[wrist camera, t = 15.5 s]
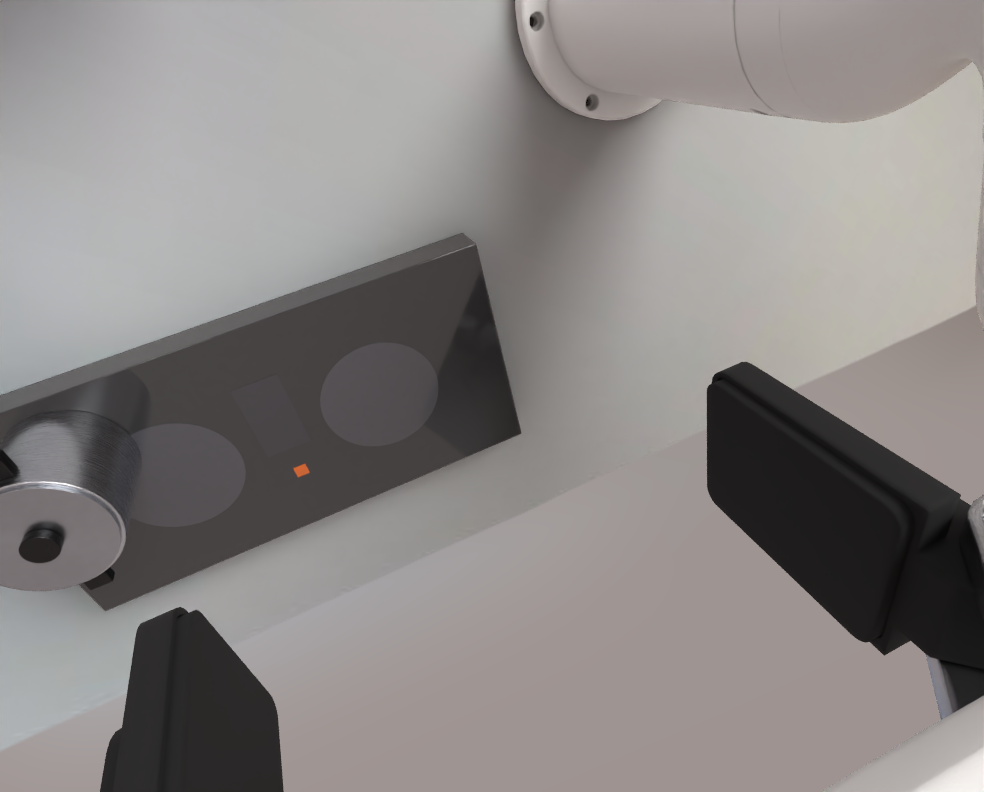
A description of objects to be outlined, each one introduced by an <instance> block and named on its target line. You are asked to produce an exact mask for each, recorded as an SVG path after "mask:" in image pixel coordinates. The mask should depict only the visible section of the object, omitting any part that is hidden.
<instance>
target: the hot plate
mask: <svg viewBox="0 0 984 792" xmlns="http://www.w3.org/2000/svg"><path fill="white" fill-rule="evenodd" d="M52 411H81V412H87V413H92V414H95V415H98V416H101V417H104V418H106V419H109V420H110V421H112V422H114V423H116V424H117V425H119V426H120V427H122V428H123V429H124V430H125V431H126V432H128V433H129V434H130V436H131V437H132V438H133V439H134V441H135V442H136V444H137V446H138V448H139V450H140V454H141V461H142V464H141V471H140V476H139V481H138V486H137V490H136V495H135V500H134V505H133V509H132V514H131V519H130V524H129V529H128V533H127V538H126V543H125V546H124V549H123V551H122V553H121V555H120V556H119V558H118V559H117V560H116V562H115V563H114V564H113V565H111V566H110V567H111V568H112V569H113V570H114V572H115V576H114V580H113V581H112V582H110V583H108V584H106V585H103V586H101V587H98V588H96V589H94V590H89V589H88V588H87V587H86V586H85V585H84V583H81V584H79V585H80V586H81V587H82V588H83V589H84V590H85V591H86V592H87V593H88V594H89V595H90V596H91V597H92V598H93V599H94V600H95V601H96V602H97V603H98V604H99V605H100V606H101V607H102V608H103V609H104V610H105V611H107V610H109V609H111V608H114V607H116V606H119V605H121V604H123V603H126V602H128V601H130V600H133V599H135V598H137V597H140V596H142V595H144V594H147V593H149V592H151V591H154V590H156V589H158V588H161V587H163V586H165V585H168V584H170V583H172V582H175V581H177V580H179V579H182V578H184V577H186V576H189V575H191V574H193V573H196V572H198V571H201V570H203V569H205V568H208V567H210V566H212V565H215V564H217V563H219V562H222V561H224V560H226V559H229V558H231V557H233V556H236V555H238V554H240V553H243V552H245V551H247V550H250V549H252V548H254V547H257V546H259V545H261V544H264V543H266V542H268V541H271V540H273V539H276V538H278V537H280V536H283V535H285V534H287V533H290V532H292V531H294V530H297V529H299V528H301V527H304V526H306V525H308V524H311V523H313V522H315V521H318V520H320V519H322V518H325V517H327V516H329V515H332V514H334V513H336V512H339V511H341V510H343V509H346V508H348V507H350V506H353V505H355V504H358V503H360V502H362V501H365V500H367V499H369V498H372V497H374V496H376V495H379V494H381V493H383V492H386V491H388V490H390V489H393V488H395V487H397V486H400V485H402V484H404V483H407V482H409V481H411V480H414V479H416V478H418V477H421V476H423V475H425V474H428V473H430V472H432V471H435V470H437V469H440V468H442V467H444V466H447V465H449V464H451V463H454V462H456V461H458V460H461V459H463V458H465V457H468V456H470V455H472V454H475V453H477V452H479V451H482V450H484V449H486V448H489V447H491V446H493V445H496V444H498V443H500V442H503V441H505V440H507V439H510V438H512V437H514V436H517V435H519V434H521V429H520V425H519V421H518V416H517V412H516V408H515V404H514V400H513V396H512V392H511V387H510V383H509V379H508V375H507V371H506V367H505V362H504V358H503V354H502V350H501V346H500V342H499V338H498V333H497V329H496V325H495V321H494V317H493V313H492V308H491V304H490V300H489V296H488V292H487V288H486V284H485V279H484V275H483V271H482V267H481V263H480V259H479V254H478V250H477V246H476V244H475V243H474V242H473V241H472V240H471V239H469V238H468V237H467V236H466V235H465V234H463V233H461V234H458V235H455V236H452V237H449V238H447V239H444V240H441V241H438V242H435V243H432V244H429V245H427V246H424V247H421V248H418V249H415V250H412V251H410V252H407V253H404V254H401V255H398V256H395V257H393V258H390V259H387V260H384V261H381V262H378V263H376V264H373V265H370V266H367V267H364V268H361V269H358V270H356V271H353V272H350V273H347V274H344V275H341V276H339V277H336V278H333V279H330V280H327V281H324V282H322V283H319V284H316V285H313V286H310V287H307V288H305V289H302V290H299V291H296V292H293V293H290V294H287V295H285V296H282V297H279V298H276V299H273V300H270V301H268V302H265V303H262V304H259V305H256V306H253V307H251V308H248V309H245V310H242V311H239V312H236V313H233V314H231V315H228V316H225V317H222V318H219V319H216V320H214V321H211V322H208V323H205V324H202V325H199V326H197V327H194V328H191V329H188V330H185V331H182V332H180V333H177V334H174V335H171V336H168V337H165V338H162V339H160V340H157V341H154V342H151V343H148V344H145V345H143V346H140V347H137V348H134V349H131V350H128V351H126V352H123V353H120V354H117V355H114V356H111V357H109V358H106V359H103V360H100V361H97V362H94V363H91V364H89V365H86V366H83V367H80V368H77V369H74V370H72V371H69V372H66V373H63V374H60V375H57V376H55V377H52V378H49V379H46V380H43V381H40V382H37V383H35V384H32V385H29V386H26V387H23V388H20V389H18V390H15V391H12V392H9V393H6V394H3V395H1V396H0V444H1V442H2V440H3V439H4V437H5V436H6V434H7V433H8V432H9V431H10V430H11V429H12V428H14V427H15V426H16V425H18V424H19V423H21V422H22V421H24V420H26V419H28V418H31V417H33V416H36V415H39V414H42V413H47V412H52Z"/></svg>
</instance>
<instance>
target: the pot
mask: <svg viewBox="0 0 984 792" xmlns="http://www.w3.org/2000/svg"><path fill="white" fill-rule="evenodd" d="M141 464H142V461H141V454H140V450H139V448H138V446H137V444H136V442H135V441H134V439H133V438H132V437H131V436H130V434H129V433H128V432H126V431H125V430H124V429H123V428H122V427H120V426H119V425H117V424H116V423H114V422H112V421H110V420H109V419H106V418H104V417H101V416H98V415H95V414H92V413H87V412H81V411H52V412H47V413H42V414H39V415H36V416H33V417H31V418H28V419H26V420H24V421H22V422H21V423H19V424H18V425H16V426H15V427H14V428H12V429H11V430H10V431H9V432H8V433H7V434H6V436H5V437H4V439H3V440H2V442H1V444H0V585H2V586H5V587H9V588H13V589H19V590H27V591H49V590H58V589H63V588H68V587H71V586H75V585H78V584H81V583H84V585H85V586H86V587H87V588H88V589H89V590H94V589H96V588H98V587H101V586H103V585H106V584H108V583H110V582H112V581H113V580H114V576H115V572H114V570H113V569H112V568H111V567H110V566H111V565H113V564H114V563H115V562H116V560H117V559H118V558H119V556H120V555H121V553H122V551H123V549H124V546H125V543H126V538H127V533H128V529H129V524H130V519H131V514H132V509H133V505H134V500H135V495H136V490H137V486H138V481H139V476H140V471H141Z"/></svg>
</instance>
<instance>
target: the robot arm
mask: <svg viewBox="0 0 984 792" xmlns="http://www.w3.org/2000/svg"><path fill="white" fill-rule="evenodd" d="M515 11H516V19H517V27H518V33H519V37H520V40H521V44H522V47H523V51H524V54H525V57H526V59H527V61H528V63H529V65H530V67H531V69H532V72H533V74H534V76H535V77H536V78H537V80H538V81H539V83H540V84H541V85H542V87H543V88H544V89H545V91H546V92H547V93H548V94H549V95H550V96H551V97H552V98H553V99H555V100H556V101H557V102H558V103H559V104H560V105H561V106H563V107H565V108H567V109H569V110H570V111H572V112H574V113H576V114H579V115H582V116H586V117H589V118H594V119H601V120H608V121H609V120H619V119H626V118H630V117H633V116H636V115H639V114H642V113H644V112H645V111H647V110H649V109H650V108H652V107H654V106H656V105H657V104H659V103H660V102H661V101H662V100H670V101H677V102H683V103H690V104H697V105H704V106H710V107H717V108H724V109H731V110H737V111H744V112H751V113H757V114H764V115H770V116H779V117H787V118H796V119H803V120H809V121H816V122H828V123H849V122H858V121H864V120H868V119H872V118H876V117H880V116H883V115H886V114H889V113H891V112H894V111H896V110H898V109H900V108H902V107H905V106H907V105H909V104H911V103H913V102H914V101H916V100H918V99H920V98H922V97H923V96H925V95H926V94H928V93H930V92H931V91H933V90H934V89H936V88H937V87H939V86H940V85H942V84H943V83H945V82H946V81H947V80H949V79H950V78H952V77H953V76H955V75H956V74H957V73H958V72H960V71H961V70H962V69H964V68H965V67H966V66H968V65H969V64H970V63H971V62H973V63H974V64H975V65H976V66H977V68H978V70H979V72H980V74H981V76H982V81H983V87H984V0H515ZM530 17H532V18H533V20H534V24H533V26H532V27H531V26H530V24H529V23H530ZM587 98H588V103H587V105H586V99H587ZM983 141H984V124H983ZM975 285H976V303H977V309H978V314H979V318H980V321H981V324H982V327H983V329H984V166H983V178H982V191H981V204H980V216H979V229H978V242H977V254H976V274H975ZM707 487H708V492H709V494H710V496H711V498H712V500H713V501H714V503H715V504H716V505H717V506H718V507H719V508H720V509H721V510H722V511H723V512H724V513H725V514H726V515H727V516H728V517H729V518H730V519H731V520H733V521H734V522H735V523H736V524H737V525H738V526H739V527H740V528H741V529H742V530H743V531H744V532H745V533H746V534H747V535H748V536H749V537H750V538H751V539H752V540H753V541H754V542H756V543H757V544H758V545H759V546H760V547H761V548H762V549H763V550H764V551H765V552H766V553H767V554H768V555H769V556H770V557H771V558H772V559H773V560H774V561H775V562H777V564H778V565H780V566H781V567H782V568H783V569H784V570H785V571H786V572H787V573H788V574H789V575H790V576H791V577H792V578H793V579H794V580H795V581H796V582H797V583H798V584H799V585H800V586H801V587H803V588H804V589H805V590H806V591H807V592H808V593H809V594H810V595H811V596H812V597H813V598H814V599H815V600H816V601H817V602H818V603H819V604H820V605H821V606H822V607H823V608H824V609H826V611H828V612H829V613H830V614H831V615H832V616H833V617H834V618H835V619H836V620H837V621H838V622H839V623H840V624H841V625H842V626H843V627H844V628H846V630H848V632H850V634H852V635H853V636H854V637H855V638H857V639H858V640H860V641H862V642H870V643H872V644H873V645H874V646H875V647H876V648H877V649H878V650H879V651H880V652H881V653H882V654H883V655H886V654H888V653H889V652H891V651H893V650H895V649H896V648H898V647H900V646H902V645H903V644H905V643H907V642H909V641H910V640H911V641H912V642H913V643H914V644H915V645H916V646H918V647H919V648H920V649H921V650H922V651H923V652H924V653H925V654H926V657H927V661H928V665H929V670H930V674H931V678H932V683H933V687H934V691H935V696H936V700H937V704H938V708H939V713H940V717H941V720H940V721H939V722H937V723H935V724H933V725H932V726H930V727H928V728H926V729H925V730H923V731H922V732H920V733H918V734H916V735H915V736H913V737H911V738H910V739H908V740H907V741H905V742H903V743H901V744H900V745H898V746H896V747H895V748H893V749H892V750H890V751H888V752H887V753H885V754H883V755H882V756H880V757H878V758H877V759H875V760H873V761H872V762H870V763H868V764H867V765H865V766H863V767H862V768H860V769H859V770H857V771H855V772H853V773H852V774H850V775H849V776H847V777H845V778H843V779H842V780H840V781H838V782H837V783H835V784H833V785H832V786H830V787H828V788H827V789H825V790H823V791H822V792H984V495H982V496H981V497H979V498H978V499H976V500H975V501H973V503H972V505H969V504H968V503H966V502H964V501H963V500H961V499H960V496H961V495H960V494H959V493H957V492H956V491H954V490H952V489H951V488H949V487H948V486H946V485H944V484H943V483H941V482H940V481H938V480H936V479H935V478H933V477H931V476H930V475H928V474H927V473H925V472H924V471H922V470H920V469H919V468H917V467H915V466H914V465H912V464H911V463H909V462H908V461H906V460H904V459H903V458H901V457H900V456H898V455H896V454H895V453H893V452H891V451H890V450H888V449H887V448H885V447H883V446H882V445H880V444H879V443H877V442H875V441H874V440H872V439H871V438H869V437H867V436H866V435H864V434H863V433H861V432H859V431H858V430H856V429H855V428H853V427H852V426H850V425H848V424H847V423H845V422H844V421H842V420H840V419H839V418H837V417H835V416H834V415H832V414H831V413H829V412H828V411H826V410H824V409H823V408H821V407H820V406H818V405H816V404H815V403H813V402H812V401H810V400H808V399H807V398H805V397H804V396H802V395H800V394H798V393H797V392H796V391H794V390H792V389H791V388H789V387H788V386H786V385H784V384H783V383H781V382H780V381H778V380H776V379H775V378H773V377H772V376H770V375H768V374H767V373H765V372H764V371H762V370H760V369H759V368H757V367H756V366H754V365H752V364H750V363H748V362H741V363H739V364H736V365H734V366H732V367H730V368H727V369H725V370H723V371H720V372H718V373H716V374H715V375H714V376H713V379H712V384H710V385H709V386H708V388H707ZM100 792H283V779H282V766H281V752H280V739H279V726H278V715H277V710H276V706H275V703H274V701H273V699H272V697H271V695H270V694H269V693H268V691H267V690H266V689H265V688H264V687H263V686H262V684H261V683H260V682H259V681H258V679H257V678H256V677H255V676H254V675H253V674H252V673H251V671H250V670H249V669H248V668H247V666H246V665H245V664H244V663H243V662H242V661H241V659H240V658H239V657H238V656H237V655H236V653H235V652H234V651H233V650H232V649H231V647H230V646H229V645H228V644H227V643H226V642H225V640H224V639H223V638H222V637H221V636H220V634H219V633H218V632H217V631H216V630H215V629H214V627H213V626H212V625H211V624H210V623H209V621H208V620H207V619H206V618H205V617H204V616H203V614H202V613H201V612H200V611H197V610H195V611H192V612H190V613H188V612H187V611H186V610H185V609H184V608H181V607H179V608H176V609H173V610H171V611H169V612H166V613H164V614H162V615H160V616H157V617H155V618H153V619H150V620H148V621H146V622H143V623H141V624H140V626H139V627H138V629H137V633H136V638H135V645H134V652H133V658H132V665H131V672H130V678H129V685H128V692H127V698H126V705H125V712H124V718H123V725H122V728H121V729H120V730H118V731H116V732H115V734H114V735H113V737H112V738H111V740H110V742H109V746H108V749H107V753H106V759H105V765H104V771H103V777H102V783H101V789H100Z"/></svg>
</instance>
